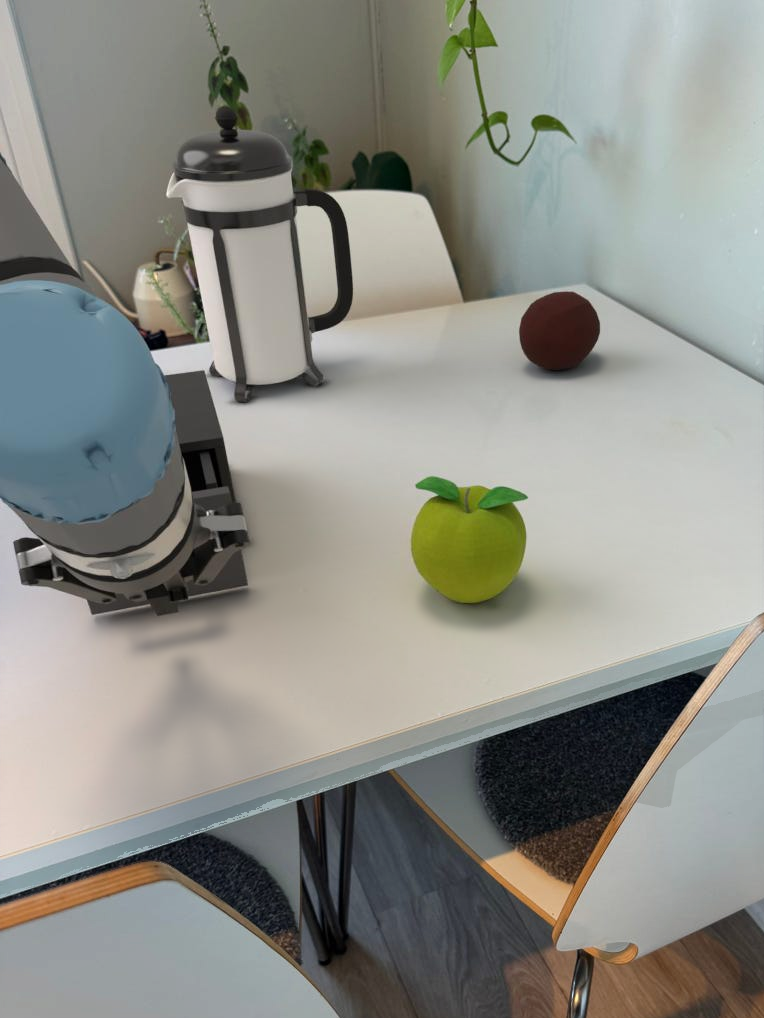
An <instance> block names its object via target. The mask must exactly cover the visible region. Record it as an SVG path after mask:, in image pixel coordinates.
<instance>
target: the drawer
mask: <svg viewBox="0 0 764 1018" xmlns="http://www.w3.org/2000/svg"><path fill="white" fill-rule="evenodd" d="M181 455H182V457H183V459H184V463H185V467H186V471H187V475H188V479H189V483H190V487H191V492H192V496H193V499H194V503H195V504H197V505H200V506H201V507H203V508H204V509H205V511H206V512H207V511H210V510H217V509H218V508H220V507H222V506H224V505H226V504H227V503H230V502H232V500H231V495H230V491H229V487H228V486H226V487H220V488H218V487H217V482H216V478H215V474H214V470H213V466H212V462H211V458H210V454H209V450H208V449H205V450H198V451H192V452H185V453H181ZM244 561H245V560H244V557H243V552H242V549H240V550H238V551H237V552H235V553H233V555H232V556H231V557H230V559H229V560H228V561H227V563H226V564H225V565H224V567H223V568H222V569H221V570H220V572H219V573H218V574H217V576H216V577H215V578H214V580H213V581H212V582H210V583H209V584H207V585H196V584H194V579H193V580H190V581H188V582H187V586H188V591H187V594H188V598H190V597H195V596H200V595H205V594H210V593H216V592H220V591H226V590H231V589H236V588H241V587H247V586H248V585H249V582H248V577H247V573H246V572H247V571H246V567H245V562H244ZM86 602H87V605H88V606H89V610H90V613H91V615H92V616H94V615H100V614H105V613H111V612H116V611H121V610H126V609H131V608H137V607H141V606H146V605H147V606H148V605H150V603H149V602H148V600H144V601H139V602H135V601H132V600H129V599H127V598H126V597H125V595H124V594H116V600H115V601H112V602H111V603H109V604H103V603H96V602H93V601H90V600H87V599H86Z"/></svg>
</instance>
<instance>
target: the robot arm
mask: <svg viewBox="0 0 764 1018" xmlns="http://www.w3.org/2000/svg"><path fill="white" fill-rule="evenodd" d="M164 375H165V373H163V370H162V369H161V367H160V365H158V364H157V363H156V362H155V359H154V357H153V354H152V352H151V350H150V348H149V346H148V344H147V342H146V341H145V339H144V337H143V336H142V334H141V333H140V332H139V330H138V329H137V328H136V326H135V325H134V324H133V323H132V322H131V320H129V319H128V318H127V317H126V316H125V315H124V314H123V313H122V312H121V311H119V310H118V309H117V308H116V307H114V306H113V305H111V304H110V303H108V302H106V301H105V300H104V299H101V298H100V297H98V296H97V295H96V294H95V292H94V290H93V289H92V288H91V286H89V285H88V284H87V283H86V282H85V281H84V279H83V278H82V276H81V275H80V273H79V272H78V271H77V270H76V269H75V268H73V266H72V265H71V263H70V261H69V260H68V259H67V257H66V255H65V253H64V252H63V251H62V248H61V247H60V246H59V244H58V243H57V241H56V240H55V238H54V236H53V235H52V233H51V232H50V230H49V229H48V227H47V225H46V224H45V223H44V221H43V219H42V218H41V216H40V214H39V212H37V210H36V208H35V206H34V205H33V204H32V202H31V200H30V198H29V197H28V196H27V194H26V192H25V191H24V189H23V188H22V186H21V185H20V183H19V182H18V180H17V179H16V177H15V175H14V174H13V171H12V169H11V168H10V167H9V165H8V163H7V161H6V159H5V157H4V156H3V155H2V152H1V151H0V500H2V503H3V504H5V505H6V506H7V507H8V508H9V509H10V510H12V512H13V513H15V515H16V516H17V517H19V519H20V520H22V521H23V523H24V524H25V525H26V527H27V528H28V530H29V531H31V533H33V534H34V536H35V537H28V536H27V537H26V536H25V537H19V538H18V539H15V540H14V541H13V542H12V543H13V544H12V545H13V549H14V554H15V558H16V564H17V570H18V574H19V579H20V585H22V586H28V587H43V588H51V589H53V590H56V591H58V592H62V593H65V594H68V595H72V596H75V597H78V598H80V599H81V598H82V599H84V600H86V601H87V600H90V601H93V602H96V603H103V604H109V603H111V602H112V601H115V600H116V594H124V595H125V597H126V598H127V599H129V600H132V601H135V602H139V601H144V600H148V602H149V603H150V604H149V605H150V606H151V608H152V610H153V611H154V613H155V614H156V615H157V617H160V616H166V615H170V614H177V613H179V608H178V603H181V602H185V601H187V600H189V597H188V594H187V591H188V586H187V582H188V581H190V580H193V579H194V584H196V585H207V584H209V583H210V582H212V581H213V580H214V578H215V577H216V576H217V574H218V573H219V572H220V570H221V569H222V568H223V567H224V565H225V564H226V563H227V561H228V560H229V559H230V557H231V556H232V555H233V553H235V552H237V551H238V550H240V549H241V550H242V549H244V548H246V547H248V546H249V545H251V542H250V537H249V533H248V528H247V523H246V519H245V515H244V514H245V513H244V509H243V506H242V503H240V502H236V503H235V502H230V503H227V504H226V505H224V506H222V507H220V508H218V509H217V510H210V511H207V512H206V511H205V509H204V508H203V507H201V506H200V505H197V504H195V503H194V499H193V496H192V492H191V487H190V483H189V479H188V475H187V471H186V467H185V463H184V459H183V457H182V455H181V451H180V446H179V442H178V437H177V433H176V425H175V410H174V408H173V407H172V403H171V399H170V396H171V391H170V388H169V386H168V383H167V381H166V378H165V376H164Z"/></svg>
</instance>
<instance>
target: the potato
mask: <svg viewBox="0 0 764 1018" xmlns="http://www.w3.org/2000/svg"><path fill="white" fill-rule="evenodd" d="M518 334H519V335H518V337H519V344H520V348H521V350H522V352H523V354H524V356H525V357H526V358H527V359H528V361H529V362H530V363H532V364H534V365H536V366H538V367H539V368H542V369H545V370H550V371H562V370H568V369H570V368H574V367H575V366H577V365H578V364H580V363H581V362H582V361H584V359H586V358H587V357H588V356H589V355H590V353H592V350H593V349H594V348H595V346H596V345H597V343H598V341H599V337H600V334H601V322H600V318H599V316H598V312H597V310H596V309H595V308H594V306H593V305H592V303H591V302H590V301H589V299H587V298H585V297H584V296H582V295H580V294H579V293H577V292H575V291H566V290H565V291H553V292H552V293H548V294H546V295H544V296H542V297H540V298H537V299H536V300H534V301H532V302H531V303H530V304H529V306H528V307H527V309H526V310H525V312H524V313H523V315H522V317H521V318H520V324H519V328H518Z"/></svg>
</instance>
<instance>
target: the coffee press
mask: <svg viewBox="0 0 764 1018" xmlns="http://www.w3.org/2000/svg"><path fill="white" fill-rule="evenodd" d="M214 120H215V121H216V123H217V125H218V126H219V127H220V128H222V129H220V130H213V131H206V132H202V133H198V134H195V135H192V136H190V137H188V138H186V139H185V140H184V141H183V142H181V144H180V145H178V148H177V150H176V154H175V160H174V161H173V162H172V164H171V165H172V169H173V170H172V171H173V173H172V175H171V177H170V179H169V181H168V185H167V188H166V198H167V199H172V198H173V199H174V198H181V201H180V204H181V208H182V214H183V219H184V221H185V222H186V223H187V229H188V234H189V240H190V246H191V250H192V255H193V260H194V267H195V271H196V276H197V282H198V287H199V292H200V293H199V294H200V297H201V302H202V309H203V313H204V317H205V324H206V327H207V328H206V329H207V334H208V339H209V344H210V349H211V350H210V351H211V354H212V362H211V364H210V365H209V369H208V372H209V373H210V375H211V376H212V377H214V378H219V377H221V376H222V377H223V378H224V379H226V380H228V381H231V382H233V383H235V384H234V385H235V386H234V394H233V397H234V400H235V402H240V403H249V402H250V400H251V397H252V392H253V389H254V388H255V387H256V386H259V385H260V386H261V385H272V384H278V383H282V382H286V381H290V380H292V379H294V378H298V377H299V378H302V379H303V380H304V381H305V382H306V383H308V385H309V386H311V387H319V386H320V385H321V384H322V383H323V382H324V374H323V373H322V372H321V370H320V369H319V368H318V366H317V365H316V363H315V361H314V358H313V349H312V348H313V347H312V342H313V334H314V333H317V332H322V331H325V330H328V329H331V328H333V327H336V326H337V325H339V324H341V322H343V321H344V320H345V319H346V317H347V316H348V314H349V313H350V310H351V308H352V304H353V300H354V281H353V280H354V279H353V268H352V255H351V246H350V237H349V228H348V223H347V219H346V216H345V213H344V211H343V209H342V207H341V205H340V203H339V202H338V201H337V200H336V199H335V197H333V196H332V195H330V194H329V193H327V192H325V191H323V190H320V189H316V188H303V190H297V191H294V190H293V189H294V188H293V182H292V181H293V180H292V172H293V168H294V159H293V156H292V155H290V154H289V153H288V151H287V149H286V147H285V145H284V144H283V142H282V141H281V140H279V139H278V138H277V137H276V136H274V135H272V134H269V133H267V132H264V131H260V130H253V129H251V130H250V129H235V127H236V125H237V123H238V115H237V113H236V111H235V110H234V109H233V108H232V107H230V106H228V105H222V106H220V107H218V109H217V110H216V112H215V117H214ZM305 206H307V207H317V208H321V209H322V210H323V211H324V213H325V214H326V216H327V218H328V220H329V223H330V228H331V229H330V230H331V236H332V246H333V256H334V263H335V264H334V266H335V275H336V286H337V295H336V296H337V297H336V299H335V300H336V301H335V303H334V305H333V306H332V308H331V309H330V310H329V311H327V312H325V313H323V314H318V315H315V316H311V317H310V316H309V313H308V305H307V304H308V303H307V297H306V287H305V280H304V273H303V263H302V255H301V247H300V239H299V230H298V222H297V214H298V207H305ZM308 369H309V370H310V371H311V373H312V374H313V375H314V376H315V378H316V379H317V380H318V381H317V380H316V379H315V378H313V376H311V375H310V374H309V373H308V372H306V371H307V370H308Z"/></svg>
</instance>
